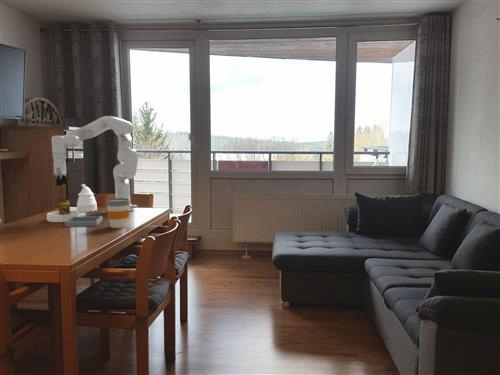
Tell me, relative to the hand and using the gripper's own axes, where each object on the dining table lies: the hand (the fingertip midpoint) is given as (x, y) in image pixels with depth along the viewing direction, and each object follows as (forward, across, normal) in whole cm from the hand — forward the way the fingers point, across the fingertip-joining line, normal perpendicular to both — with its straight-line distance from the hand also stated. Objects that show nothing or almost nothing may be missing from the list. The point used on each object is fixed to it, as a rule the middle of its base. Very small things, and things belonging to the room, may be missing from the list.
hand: (61, 184), depth 252 cm
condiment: (+21, 0, 0) cm, 21 cm away
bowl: (+21, 0, 0) cm, 21 cm away
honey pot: (+22, -32, +7) cm, 39 cm away
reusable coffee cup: (+22, +29, +37) cm, 52 cm away
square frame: (+21, +16, +16) cm, 31 cm away
